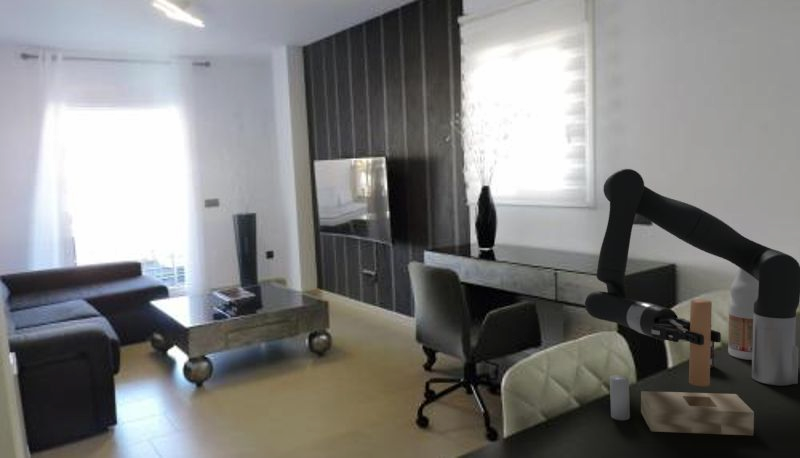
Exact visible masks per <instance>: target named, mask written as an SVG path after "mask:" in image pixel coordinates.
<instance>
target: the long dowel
mask: <svg viewBox="0 0 800 458" xmlns="http://www.w3.org/2000/svg"><path fill="white" fill-rule="evenodd" d="M712 310H713V309H712V301H711V300H708V299H701V298H700V299H699V298H695V299H691V300H690V314H689V315H690V316H689V317H690V319H689V321H690V331H692V332H695V333H699V334H702V335H703V336H704V344H703V345H697V344H694V343H691V342H689V355H688V356H689V365H688V368H689V369H688V384H691V385H692V386H696V387H708V386H710V384H711V383H710V382H711V376H710V375H711V368H710V349H711V330H712Z"/></svg>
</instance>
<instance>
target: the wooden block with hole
mask: <svg viewBox="0 0 800 458" xmlns="http://www.w3.org/2000/svg"><path fill="white" fill-rule="evenodd" d="M640 413H641V415H642V416H643V417H642V418H643V419H644V421H645V423H646V425H647V427H648V428H649V431H650V432H655V433H656V432H657V433H658V432H659V433H660V432H661V433H663V432H664V433H683V434H685V433H686V434H708V435H710V434H711V435H712V434H713V435H733V436H754V431H755V430H754V429H755V428H754V427H755V426H754V425H755V412H754V410H752V408H750V407H749V406H748V405H747V404H746V402H744V400H743V399H741V398H740V397H739V395H738V394H736V393H717V392H716V393H715V392H714V393H711V392H681V391H680V392H679V391H649V390H648V391H646V390H644V391H643V390H641V391H640Z"/></svg>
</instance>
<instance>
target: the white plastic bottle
mask: <svg viewBox="0 0 800 458" xmlns="http://www.w3.org/2000/svg"><path fill="white" fill-rule="evenodd" d="M758 288H759V281H758V280H756V279H755V278H754V277H753V276H751V275H750V274H748V273H747V272H746V271H744V270H743V269H741V268H740V267H739V269H738V272H737V274H736V275H735V278H734V280H733V282H732V283H731V285H730V286H729V295H730V297H731V300H730V302H729V304H728V305H729V307H728V333H727V334H728V338H727V339H728V340H727V342H728V344H727V346H728V347H727V351H728V354H729V355H730V356H731V357H734V358H736V359H741V360H747V361H749V360H750V361H752V349H753V309H754V302H755V301H756V300H757V298H758Z"/></svg>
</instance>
